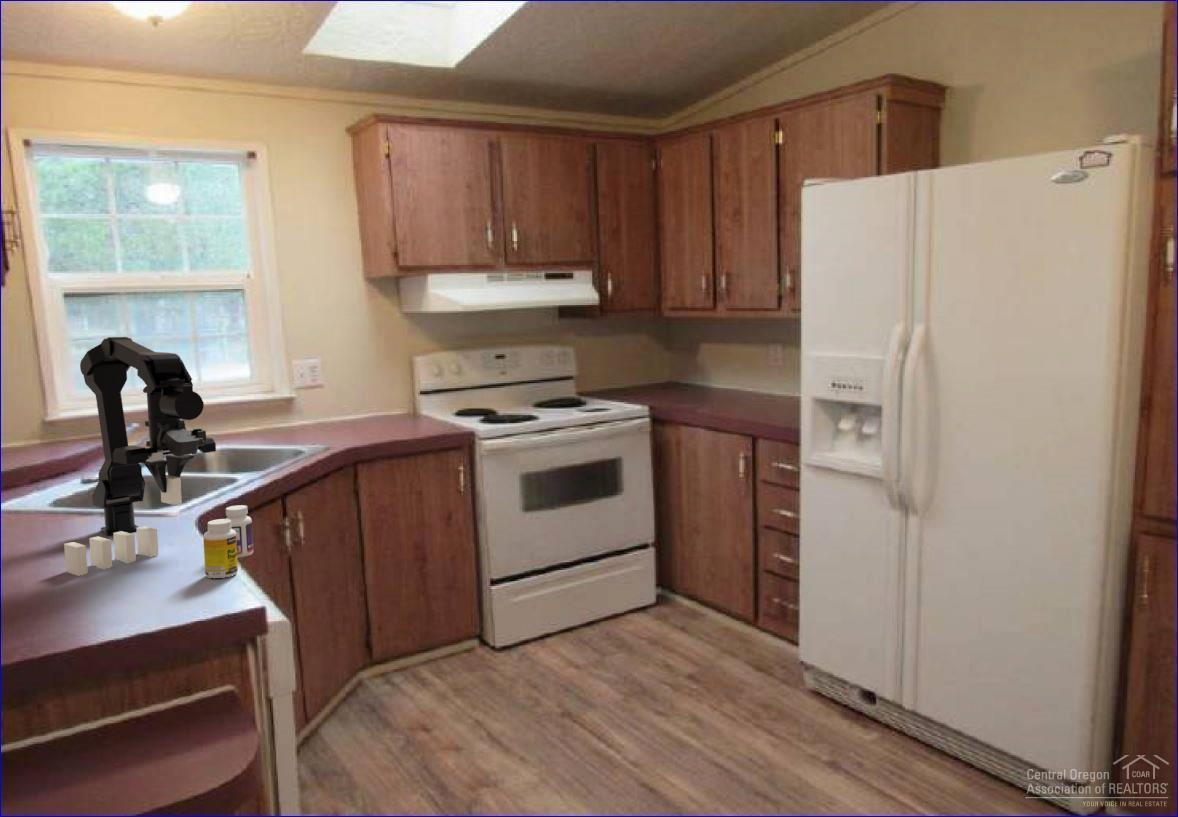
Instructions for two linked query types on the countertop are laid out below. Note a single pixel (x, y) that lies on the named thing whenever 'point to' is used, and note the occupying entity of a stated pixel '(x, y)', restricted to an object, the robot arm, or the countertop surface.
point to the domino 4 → (147, 541)
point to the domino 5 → (172, 491)
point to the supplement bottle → (220, 549)
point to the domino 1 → (75, 558)
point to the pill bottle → (241, 529)
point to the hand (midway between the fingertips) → (168, 491)
